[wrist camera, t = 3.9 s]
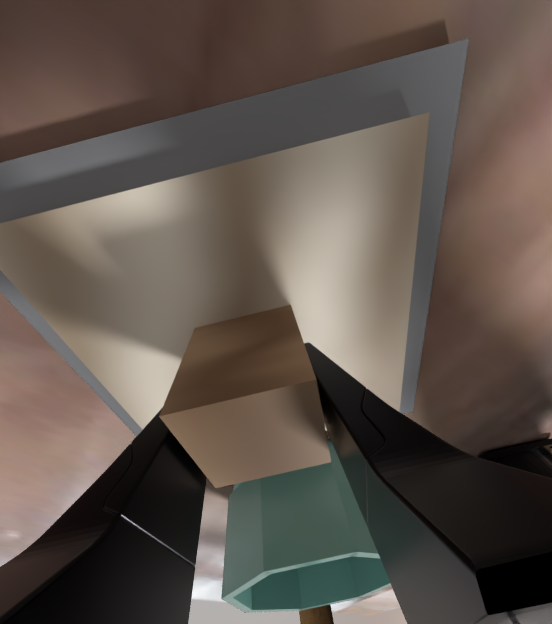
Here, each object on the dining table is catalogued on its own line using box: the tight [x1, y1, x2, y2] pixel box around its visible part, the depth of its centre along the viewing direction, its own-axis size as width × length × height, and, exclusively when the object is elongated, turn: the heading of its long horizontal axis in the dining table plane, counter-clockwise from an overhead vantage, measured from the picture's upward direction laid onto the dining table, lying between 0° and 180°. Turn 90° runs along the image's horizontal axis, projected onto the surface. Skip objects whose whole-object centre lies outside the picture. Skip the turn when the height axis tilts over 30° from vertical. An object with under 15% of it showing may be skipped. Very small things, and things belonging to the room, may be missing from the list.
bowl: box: [222, 440, 391, 612], centre depth 17 cm, size 12×12×6 cm
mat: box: [0, 39, 469, 436], centre depth 11 cm, size 17×17×1 cm
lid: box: [0, 112, 430, 488], centre depth 8 cm, size 14×14×5 cm
